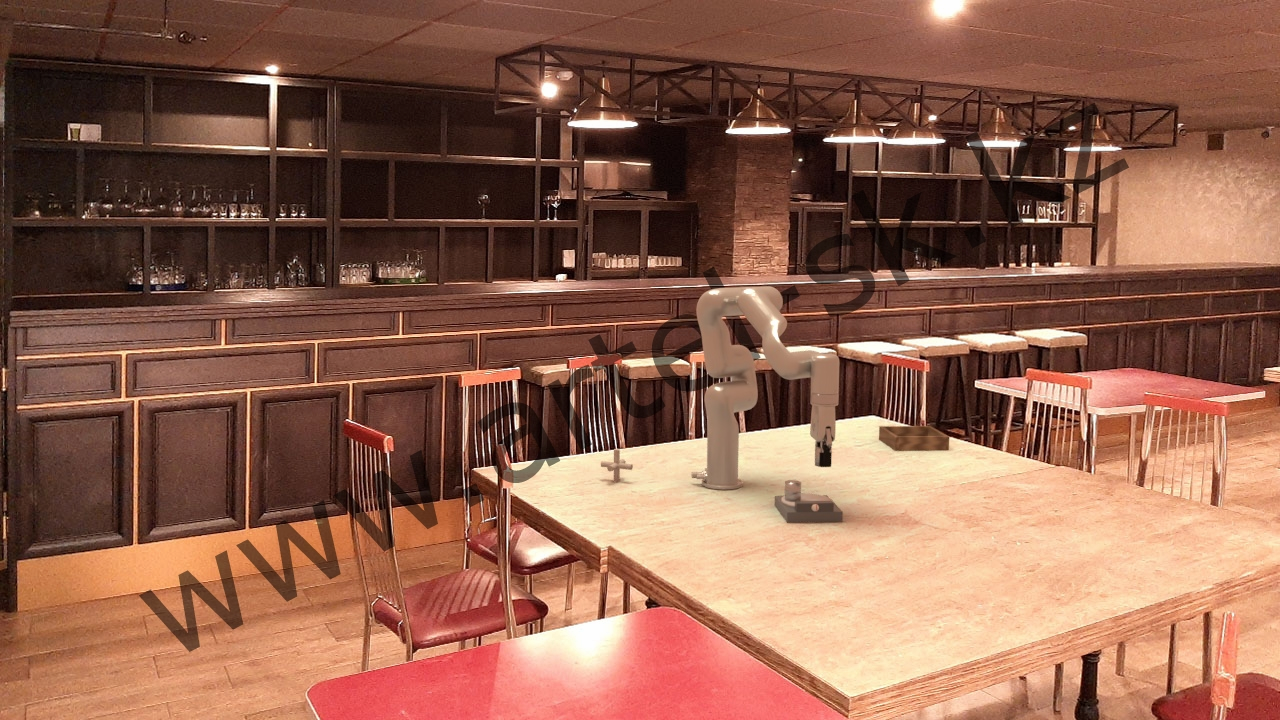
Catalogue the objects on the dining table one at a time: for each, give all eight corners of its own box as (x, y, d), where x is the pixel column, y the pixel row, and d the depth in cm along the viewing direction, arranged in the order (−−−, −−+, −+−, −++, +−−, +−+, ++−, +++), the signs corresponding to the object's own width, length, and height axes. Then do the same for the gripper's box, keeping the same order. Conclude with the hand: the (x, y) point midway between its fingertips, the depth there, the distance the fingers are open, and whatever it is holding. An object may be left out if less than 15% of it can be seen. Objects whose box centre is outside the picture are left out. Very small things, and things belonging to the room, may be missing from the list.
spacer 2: (816, 467, 281) (817, 449, 280) (813, 463, 285) (813, 445, 284) (832, 467, 281) (833, 449, 280) (828, 463, 285) (829, 445, 285)
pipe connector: (595, 483, 315) (595, 451, 314) (608, 476, 324) (608, 445, 323) (625, 486, 311) (625, 454, 310) (637, 479, 320) (637, 447, 319)
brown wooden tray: (895, 450, 363) (895, 437, 363) (878, 439, 383) (879, 426, 382) (948, 450, 365) (949, 436, 364) (929, 439, 384) (930, 426, 383)
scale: (787, 522, 274) (787, 503, 274) (774, 505, 292) (774, 487, 291) (842, 522, 276) (843, 503, 275) (826, 504, 293) (827, 486, 292)
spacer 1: (786, 501, 282) (786, 484, 281) (783, 497, 286) (783, 480, 285) (802, 501, 282) (802, 484, 281) (798, 497, 286) (799, 480, 286)
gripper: (803, 394, 289) (802, 458, 291) (818, 404, 272) (816, 472, 274) (830, 394, 289) (828, 457, 292) (846, 404, 273) (844, 471, 275)
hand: (822, 464), depth 283 cm, fingers closed on spacer 2, 4 cm apart
